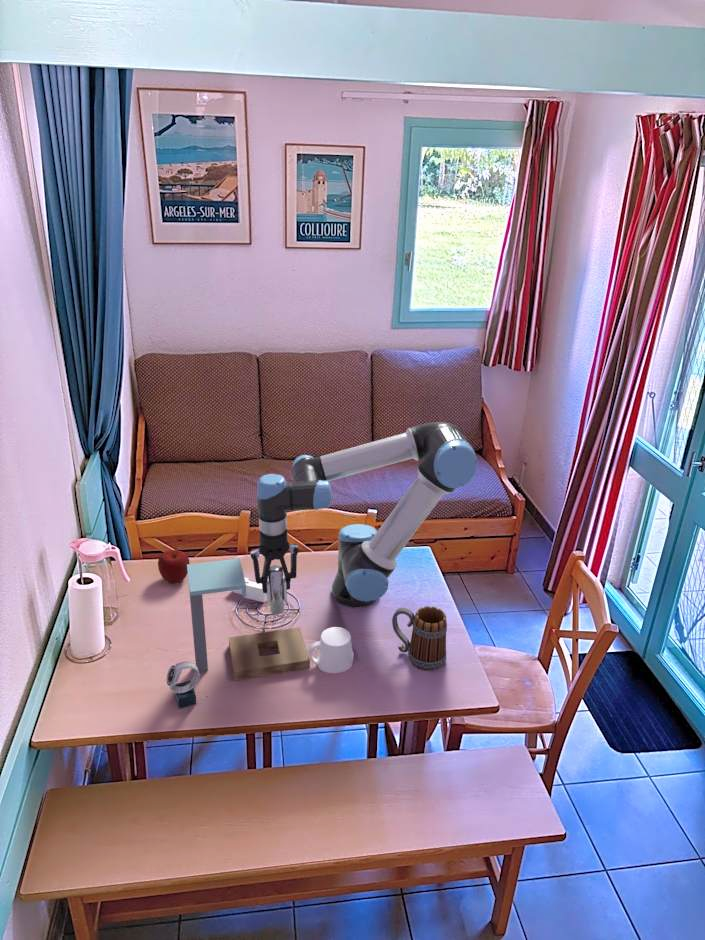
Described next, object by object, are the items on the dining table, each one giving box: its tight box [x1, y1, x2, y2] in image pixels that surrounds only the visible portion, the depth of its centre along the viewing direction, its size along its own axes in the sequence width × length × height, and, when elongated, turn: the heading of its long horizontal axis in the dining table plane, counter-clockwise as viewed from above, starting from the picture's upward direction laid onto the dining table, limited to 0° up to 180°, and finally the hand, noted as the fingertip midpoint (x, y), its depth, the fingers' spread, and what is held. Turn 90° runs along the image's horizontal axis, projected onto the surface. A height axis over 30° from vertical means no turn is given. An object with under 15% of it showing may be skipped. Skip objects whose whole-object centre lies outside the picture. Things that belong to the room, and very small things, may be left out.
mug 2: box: [391, 605, 448, 672], centre depth 197 cm, size 16×11×15 cm
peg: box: [268, 564, 285, 615], centre depth 205 cm, size 4×4×14 cm
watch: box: [166, 661, 201, 709], centre depth 181 cm, size 6×8×11 cm
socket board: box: [228, 627, 311, 682], centre depth 198 cm, size 20×14×3 cm
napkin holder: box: [231, 576, 267, 603], centre depth 223 cm, size 15×11×6 cm
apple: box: [157, 549, 190, 585], centre depth 227 cm, size 10×10×10 cm
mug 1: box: [308, 626, 354, 674], centre depth 195 cm, size 12×9×8 cm
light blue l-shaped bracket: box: [187, 558, 246, 673], centre depth 189 cm, size 14×12×29 cm
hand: (276, 599), depth 207 cm, fingers closed on peg, 4 cm apart
